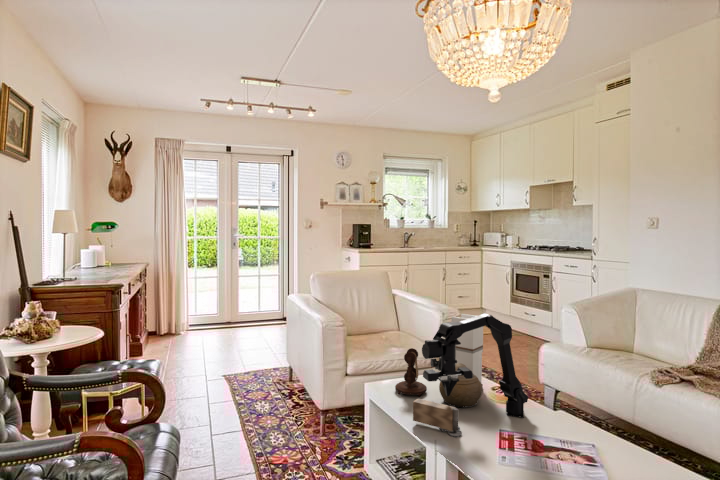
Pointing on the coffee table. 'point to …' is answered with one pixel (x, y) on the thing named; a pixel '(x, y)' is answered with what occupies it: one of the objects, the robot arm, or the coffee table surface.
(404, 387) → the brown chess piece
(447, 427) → the block
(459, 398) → the brown round pot
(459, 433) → the hinge base
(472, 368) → the white square post
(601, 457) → the coffee table surface
